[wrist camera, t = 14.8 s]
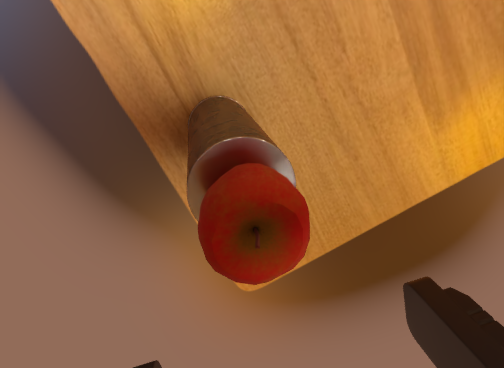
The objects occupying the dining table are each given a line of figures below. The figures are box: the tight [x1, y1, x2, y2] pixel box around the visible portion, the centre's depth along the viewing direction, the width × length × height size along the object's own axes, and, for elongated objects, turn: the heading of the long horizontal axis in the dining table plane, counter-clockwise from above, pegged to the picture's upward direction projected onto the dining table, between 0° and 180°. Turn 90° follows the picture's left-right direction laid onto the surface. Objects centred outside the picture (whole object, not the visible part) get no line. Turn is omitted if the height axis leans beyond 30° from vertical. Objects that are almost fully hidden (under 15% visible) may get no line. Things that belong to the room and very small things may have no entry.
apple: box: [198, 163, 310, 285], centre depth 22 cm, size 6×6×8 cm
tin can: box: [187, 96, 296, 222], centre depth 36 cm, size 8×8×22 cm
